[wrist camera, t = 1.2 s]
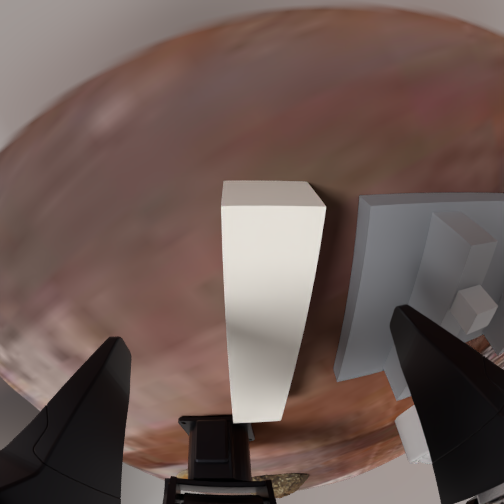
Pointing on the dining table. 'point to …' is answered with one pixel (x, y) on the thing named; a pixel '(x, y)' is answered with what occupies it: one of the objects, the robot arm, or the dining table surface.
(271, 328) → the clay strip
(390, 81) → the dining table surface
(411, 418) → the white lego brick
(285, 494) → the mottled brown rock
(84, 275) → the dining table surface
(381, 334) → the grey pegged plate
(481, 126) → the dining table surface
